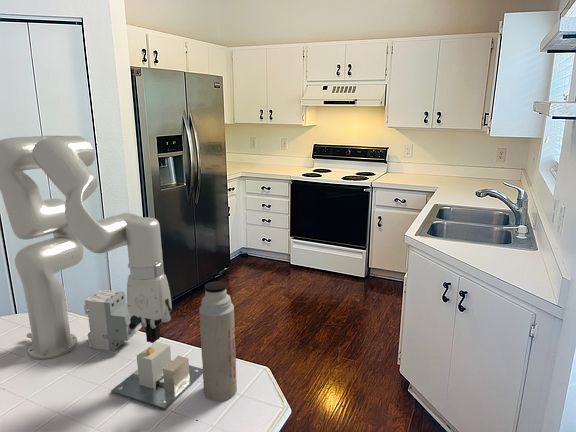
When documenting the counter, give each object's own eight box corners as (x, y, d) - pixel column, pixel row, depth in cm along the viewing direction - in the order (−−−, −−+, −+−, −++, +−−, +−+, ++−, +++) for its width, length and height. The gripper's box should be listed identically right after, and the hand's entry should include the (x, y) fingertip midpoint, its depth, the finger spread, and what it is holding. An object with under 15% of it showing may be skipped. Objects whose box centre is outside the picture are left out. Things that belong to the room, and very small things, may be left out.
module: (139, 384, 104) (136, 352, 102) (158, 368, 111) (155, 338, 108) (153, 388, 103) (150, 356, 101) (172, 372, 109) (169, 341, 107)
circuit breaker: (134, 353, 119) (129, 304, 116) (89, 347, 122) (83, 300, 118) (147, 339, 126) (143, 293, 123) (105, 334, 129) (100, 289, 125)
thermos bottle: (242, 384, 106) (239, 280, 99) (227, 405, 98) (222, 294, 91) (214, 378, 108) (209, 276, 101) (197, 397, 101) (190, 289, 94)
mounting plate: (111, 393, 102) (108, 368, 101) (155, 358, 117) (153, 336, 115) (164, 410, 96) (162, 384, 95) (204, 371, 111) (203, 348, 109)
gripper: (110, 271, 99) (119, 341, 103) (162, 280, 93) (168, 354, 98) (133, 261, 106) (140, 327, 110) (182, 268, 100) (188, 338, 104)
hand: (153, 339), depth 104 cm, fingers closed
